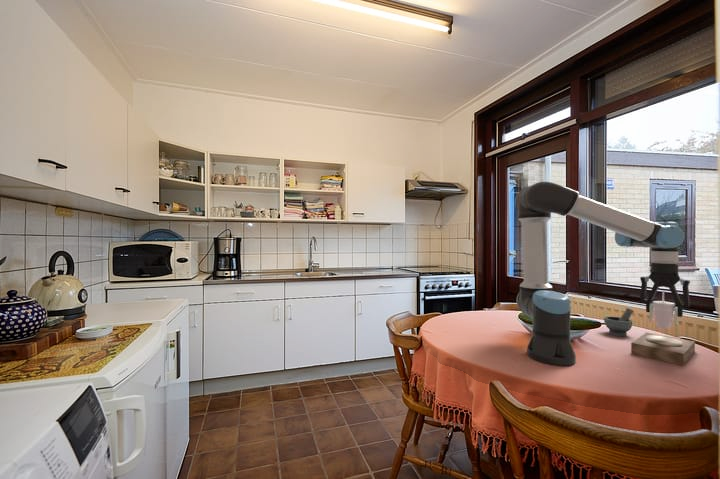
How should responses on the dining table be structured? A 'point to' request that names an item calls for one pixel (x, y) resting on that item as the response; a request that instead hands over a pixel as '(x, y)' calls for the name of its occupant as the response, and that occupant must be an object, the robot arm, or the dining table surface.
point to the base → (663, 348)
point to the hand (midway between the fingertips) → (663, 322)
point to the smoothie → (663, 313)
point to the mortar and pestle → (619, 323)
